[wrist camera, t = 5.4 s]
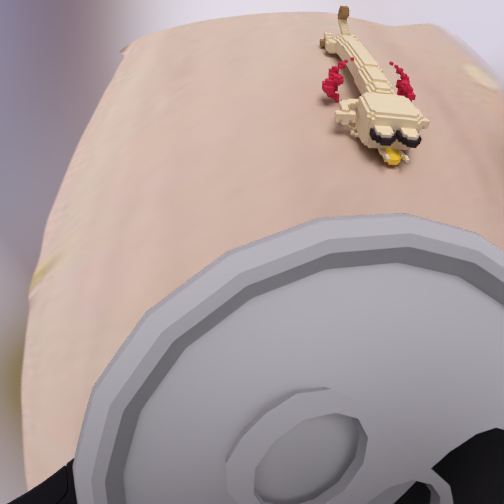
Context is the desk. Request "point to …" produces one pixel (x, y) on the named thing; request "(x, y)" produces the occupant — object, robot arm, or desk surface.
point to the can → (312, 375)
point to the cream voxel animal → (373, 98)
